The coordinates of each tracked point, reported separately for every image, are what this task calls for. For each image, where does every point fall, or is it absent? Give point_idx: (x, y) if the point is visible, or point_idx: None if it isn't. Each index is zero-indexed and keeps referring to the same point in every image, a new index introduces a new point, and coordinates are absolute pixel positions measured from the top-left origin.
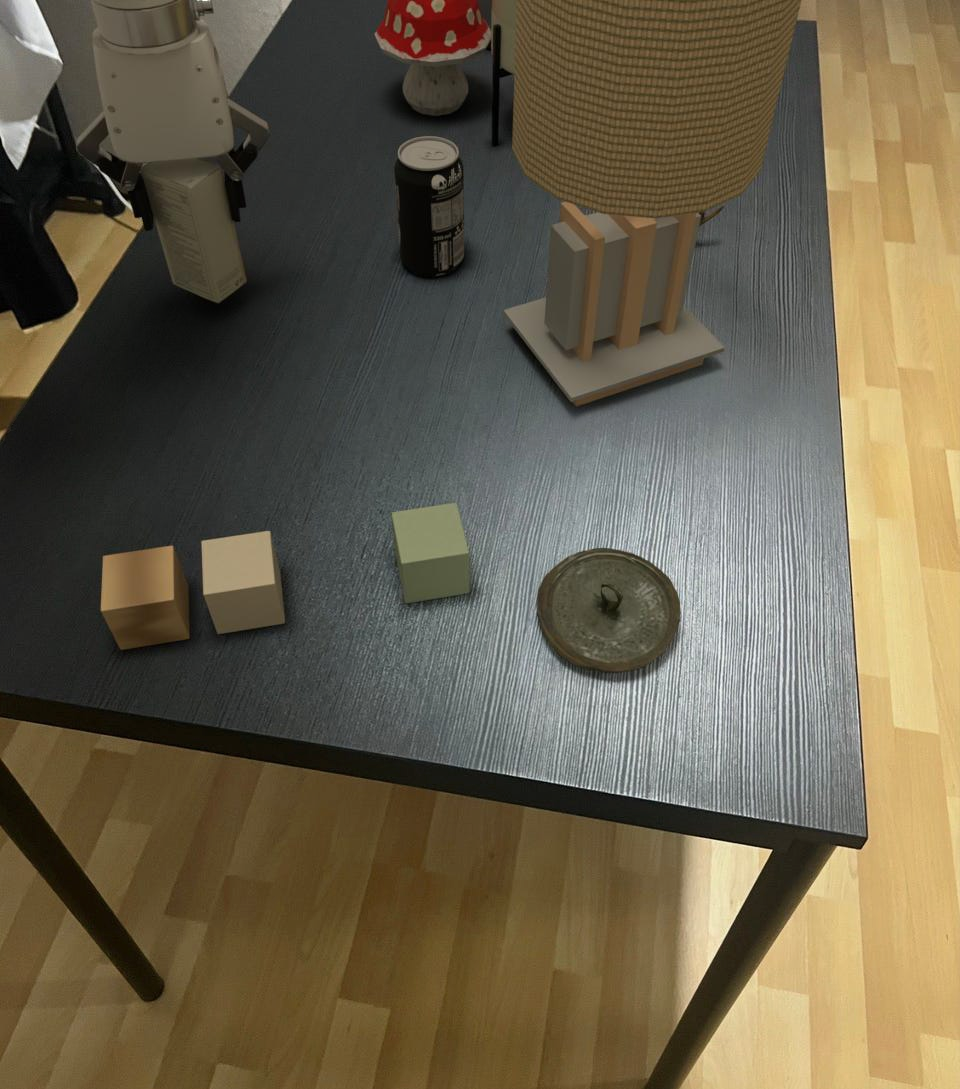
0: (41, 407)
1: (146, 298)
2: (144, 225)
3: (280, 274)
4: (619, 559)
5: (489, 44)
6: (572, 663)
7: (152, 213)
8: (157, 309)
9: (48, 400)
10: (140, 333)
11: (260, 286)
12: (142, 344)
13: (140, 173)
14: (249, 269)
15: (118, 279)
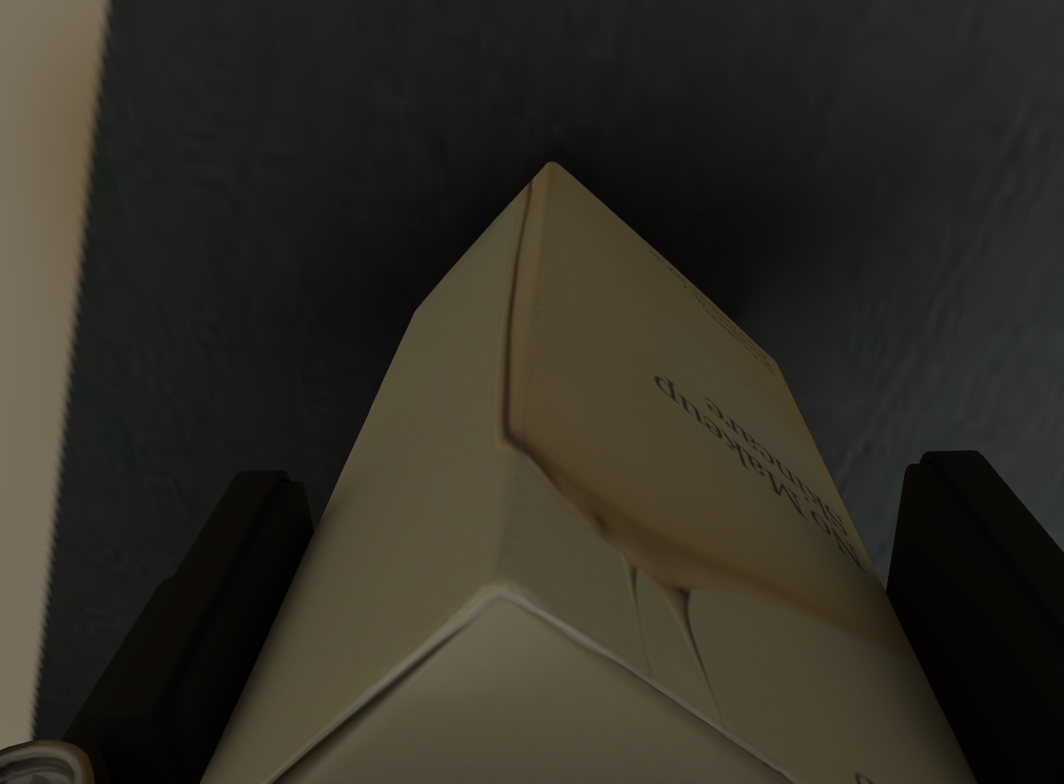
0: (60, 709)
1: (280, 223)
2: None
3: (930, 132)
4: None
5: None
6: None
7: (304, 536)
8: (343, 308)
9: (71, 688)
10: (298, 442)
11: (813, 215)
12: (318, 501)
13: (149, 725)
14: (780, 61)
15: (106, 44)
